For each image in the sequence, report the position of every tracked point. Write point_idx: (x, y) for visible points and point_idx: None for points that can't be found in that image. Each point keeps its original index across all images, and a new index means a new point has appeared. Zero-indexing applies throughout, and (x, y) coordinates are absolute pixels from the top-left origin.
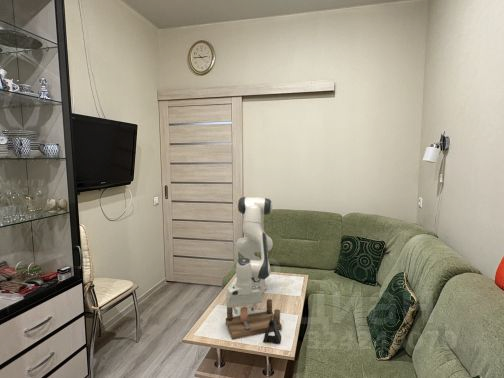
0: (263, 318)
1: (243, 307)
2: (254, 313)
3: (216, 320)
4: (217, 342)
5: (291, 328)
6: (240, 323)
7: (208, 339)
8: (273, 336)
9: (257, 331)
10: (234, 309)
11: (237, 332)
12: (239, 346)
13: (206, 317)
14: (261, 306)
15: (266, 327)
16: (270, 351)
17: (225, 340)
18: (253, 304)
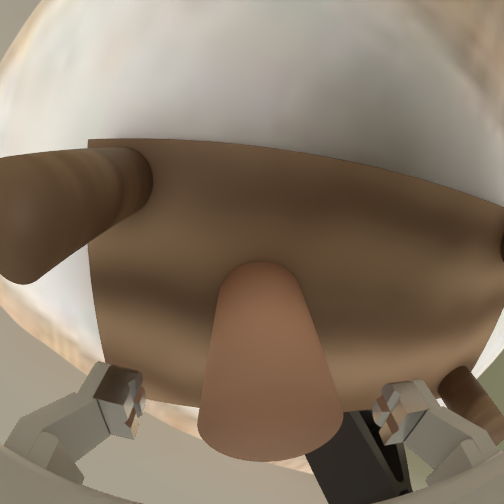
0: (443, 306)
1: (286, 397)
2: (435, 190)
3: (61, 81)
4: (47, 344)
5: (476, 369)
6: (211, 307)
7: (6, 297)
8: (371, 416)
9: None
10: (72, 452)
11: (152, 395)
12: (159, 419)
13: (26, 33)
14: (498, 68)
15: None
16: (290, 467)
17: (86, 352)
18: (431, 483)
